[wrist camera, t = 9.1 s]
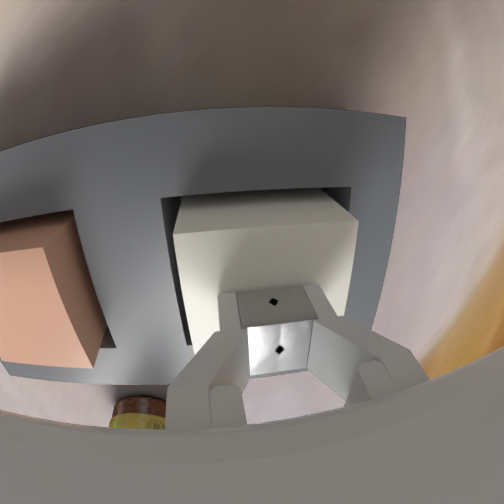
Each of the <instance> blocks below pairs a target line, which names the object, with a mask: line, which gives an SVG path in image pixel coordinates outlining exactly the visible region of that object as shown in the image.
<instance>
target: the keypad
mask: <svg viewBox="0 0 504 504" xmlns="http://www.w3.org/2000/svg"><path fill="white" fill-rule="evenodd" d="M405 130H406V117H399V116H393V115H386V114H378V113H370V112H361V111H351V110H340V109H325V108H305V107H238V108H218V109H203V110H191V111H181V112H172V113H163V114H156V115H148V116H142V117H135V118H129V119H123V120H117V121H112V122H107V123H102V124H97V125H92V126H88V127H83V128H79V129H74V130H70V131H66V132H62V133H59V134H55V135H51V136H47V137H44V138H40V139H37V140H34V141H30V142H27V143H24V144H21V145H18V146H15V147H12V148H9V149H6V150H3V151H0V222H5V221H10V220H15V219H20V218H25V217H31V216H36V215H42V214H48V213H53V212H59V211H66V210H72V209H73V211H74V216H75V220H76V224H77V229H78V233H79V237H80V241H81V244H82V248H83V252H84V255H85V259H86V262H87V266H88V269H89V272H90V276H91V279H92V282H93V285H94V288H95V291H96V294H97V297H98V300H99V303H100V306H101V309H102V311H103V314H104V317H105V319H106V322H107V328H106V331H105V334H104V337H103V340H102V343H101V346H100V349H99V352H98V355H97V358H96V361H95V365H94V368H93V369H92V368H70V367H55V366H43V365H32V364H23V363H15V362H7V361H2V360H1V358H0V361H1V363H2V364H3V366H4V367H5V369H6V370H7V372H8V373H9V374H10V375H12V376H18V377H25V378H33V379H41V380H50V381H60V382H72V383H86V384H107V385H170V384H171V383H172V382H173V380H174V379H175V378H176V377H177V376H178V374H179V373H180V372H181V371H182V370H183V369H184V367H185V366H186V365H187V364H188V363H189V362H190V360H191V359H192V358H193V357H194V356H195V355H194V350H193V346H192V341H191V336H190V331H189V326H188V321H187V316H186V311H185V306H184V300H183V295H182V289H181V283H180V277H179V271H178V265H177V259H176V253H175V246H174V239H173V231H174V227H175V224H176V220H177V216H178V212H179V208H180V204H181V203H180V196H186V195H197V194H209V193H222V192H236V191H252V190H270V189H292V188H320V189H321V190H322V191H324V192H325V193H326V194H327V195H329V196H330V197H331V198H332V199H333V200H335V201H336V202H337V203H338V204H339V205H341V206H342V207H343V208H344V209H345V210H347V211H348V212H349V213H350V214H351V215H352V216H354V217H355V218H356V219H357V220H358V221H359V224H358V232H357V239H356V247H355V254H354V260H353V267H352V273H351V279H350V285H349V291H348V296H347V302H346V307H345V312H344V317H346V318H348V319H350V320H352V321H354V322H356V323H358V324H360V325H362V326H364V327H366V328H368V329H370V330H371V329H372V325H373V322H374V318H375V314H376V311H377V307H378V303H379V299H380V295H381V291H382V287H383V282H384V278H385V273H386V269H387V264H388V259H389V254H390V249H391V244H392V238H393V233H394V227H395V221H396V215H397V208H398V201H399V194H400V186H401V177H402V168H403V157H404V145H405ZM302 371H308V370H307V368H301V369H294V370H286V371H278V372H272V373H266V374H259V375H252V376H250V379H252V378H260V377H268V376H276V375H283V374H289V373H296V372H302Z"/></svg>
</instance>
